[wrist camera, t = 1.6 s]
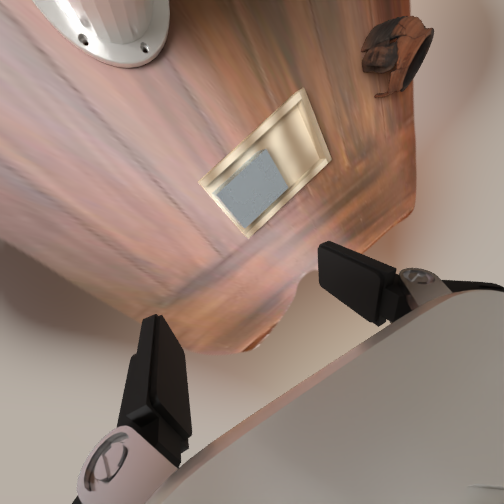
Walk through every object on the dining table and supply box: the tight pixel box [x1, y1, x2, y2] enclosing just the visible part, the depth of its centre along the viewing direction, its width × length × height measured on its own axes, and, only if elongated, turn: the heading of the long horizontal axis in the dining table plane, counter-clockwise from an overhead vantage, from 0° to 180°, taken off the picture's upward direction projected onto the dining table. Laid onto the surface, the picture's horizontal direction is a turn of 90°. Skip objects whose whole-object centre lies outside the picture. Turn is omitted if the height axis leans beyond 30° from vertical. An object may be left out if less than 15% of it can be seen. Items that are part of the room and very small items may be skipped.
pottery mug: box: [361, 16, 434, 98], centre depth 31 cm, size 12×10×8 cm
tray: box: [198, 87, 332, 239], centre depth 31 cm, size 21×12×2 cm, turn 130°
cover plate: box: [212, 149, 288, 229], centre depth 30 cm, size 10×7×3 cm
